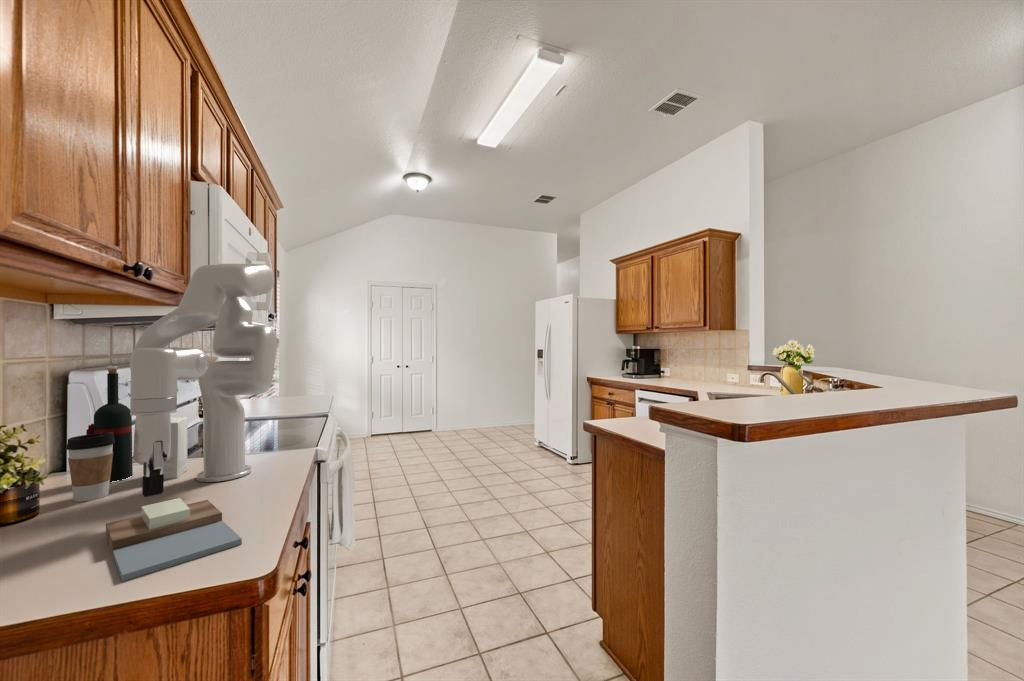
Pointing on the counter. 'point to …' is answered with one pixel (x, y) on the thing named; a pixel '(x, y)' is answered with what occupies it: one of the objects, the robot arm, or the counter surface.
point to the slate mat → (173, 549)
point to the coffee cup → (90, 465)
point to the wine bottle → (115, 429)
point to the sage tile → (165, 513)
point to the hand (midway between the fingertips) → (152, 494)
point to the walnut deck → (138, 531)
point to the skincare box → (177, 449)
